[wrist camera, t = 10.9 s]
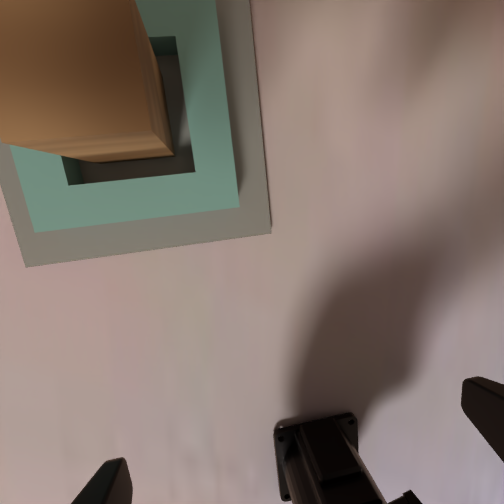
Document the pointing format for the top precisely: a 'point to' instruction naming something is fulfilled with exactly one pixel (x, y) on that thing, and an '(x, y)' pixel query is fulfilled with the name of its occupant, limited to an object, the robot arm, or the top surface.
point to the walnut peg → (81, 81)
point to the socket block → (158, 169)
